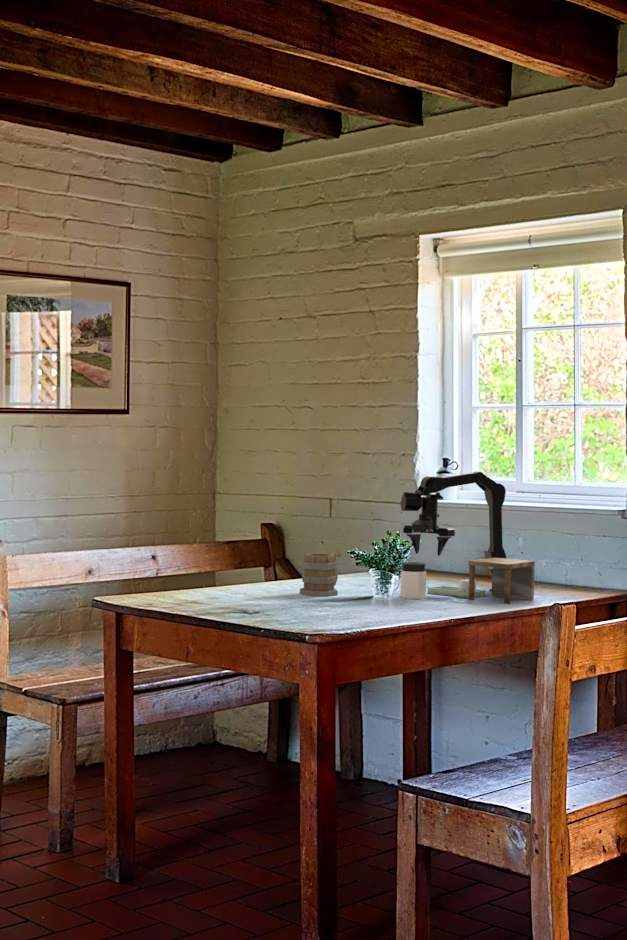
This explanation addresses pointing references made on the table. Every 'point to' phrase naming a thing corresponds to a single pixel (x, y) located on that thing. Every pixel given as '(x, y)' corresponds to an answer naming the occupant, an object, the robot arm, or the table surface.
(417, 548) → the robot arm
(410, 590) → the jar
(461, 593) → the tray
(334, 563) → the tankard
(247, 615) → the table surface
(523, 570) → the stand
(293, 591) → the table surface
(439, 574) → the table surface
